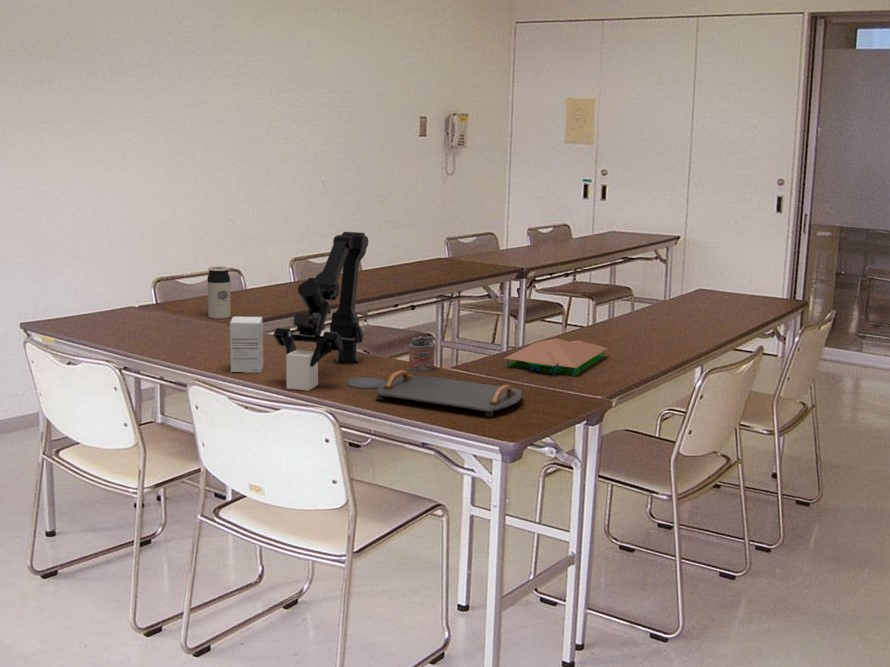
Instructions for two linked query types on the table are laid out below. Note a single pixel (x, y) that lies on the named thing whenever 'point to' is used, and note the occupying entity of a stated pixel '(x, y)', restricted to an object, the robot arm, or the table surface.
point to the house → (558, 354)
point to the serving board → (449, 392)
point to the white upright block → (301, 370)
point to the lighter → (421, 354)
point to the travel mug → (219, 293)
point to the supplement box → (246, 344)
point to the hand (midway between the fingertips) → (299, 364)
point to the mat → (365, 383)
